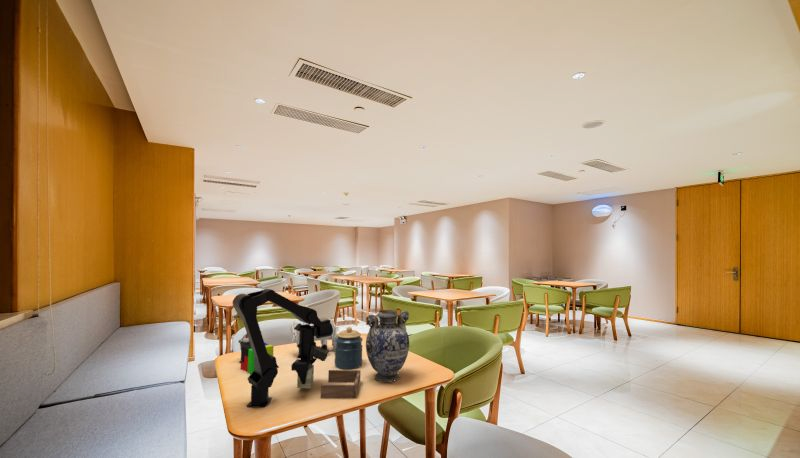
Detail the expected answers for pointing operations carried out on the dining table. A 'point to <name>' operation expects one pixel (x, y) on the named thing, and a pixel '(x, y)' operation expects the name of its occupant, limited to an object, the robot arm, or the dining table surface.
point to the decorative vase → (387, 343)
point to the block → (307, 379)
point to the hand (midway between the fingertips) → (305, 381)
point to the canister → (348, 349)
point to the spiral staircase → (323, 340)
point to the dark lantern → (244, 341)
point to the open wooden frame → (341, 390)
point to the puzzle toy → (251, 357)
